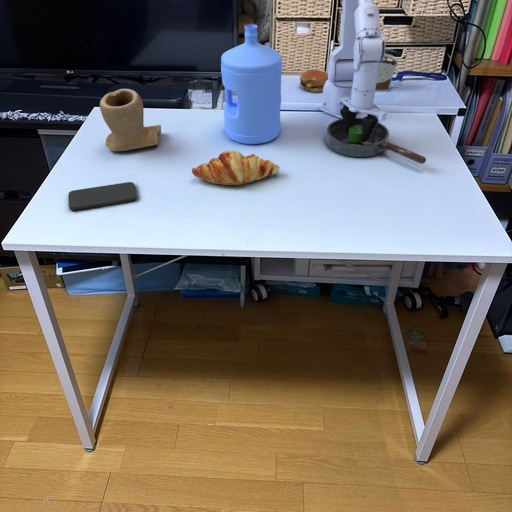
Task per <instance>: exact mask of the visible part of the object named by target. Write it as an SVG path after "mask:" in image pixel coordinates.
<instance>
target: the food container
mask: <svg viewBox="0 0 512 512" xmlns="http://www.w3.org/2000/svg"><path fill="white" fill-rule="evenodd" d="M396 67H399V63H398V58H397V57H396V56H394V55H392V54H388V53H385V55H384V59H383V61H382V62H380V61H379V69H378V76H377V82H376V89H375V92H377V91H378V92H379V91H381V92H389V91H390V87H391V85H392V80H393V77H394V74H395V70H396Z"/></svg>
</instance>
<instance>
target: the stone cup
mask: <svg viewBox="0 0 512 512" xmlns="http://www.w3.org/2000/svg"><path fill="white" fill-rule="evenodd" d="M99 109H100V113H101V116H102V119H103V121H104V123H105V125H106V126H107V127H108V129H109V130H110V131H111V133H109V134H108V135H107V137H106V139H105V146H106V148H107V149H108V150H110V151H112V152H125V151H131V150H137V149H141V148H142V149H143V148H148V147H153V146H157V145H158V144H159V143H160V139H161V136H162V125H161V124H156V125H150V126H145V125H144V123H145V122H144V117H145V116H144V114H145V113H144V112H145V110H144V103H143V100H142V97H140V95H139V94H138V92H136V91H135V90H133V89H130V88H120V89H117V90H114V91H110V92H108V93H106V94H105V95H104V96H103V97H102V98H101V99H100V101H99Z"/></svg>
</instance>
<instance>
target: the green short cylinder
mask: <svg viewBox="0 0 512 512" xmlns="http://www.w3.org/2000/svg"><path fill="white" fill-rule="evenodd" d="M362 132H363V126H360V125H354V126H351V127H350V128H349V134H348V139H349V140H350V141H352V142H354V143H360V142H362Z"/></svg>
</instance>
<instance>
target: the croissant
mask: <svg viewBox="0 0 512 512" xmlns="http://www.w3.org/2000/svg"><path fill="white" fill-rule="evenodd" d="M280 169H281V167H280V165H278V164H275V163H274V161H271V160H270V159H266V160H265V159H263V158H261V157H259V156H258V155H256V154H255V153H253V154H252V153H251V154H249V155H243V154H242V153H241V152H240V151H237V150H226V151H223V152H220V153H219V155H218V157H213V158H211V159H210V160H209V162H207V163H205V162H204V163H201V164H199V165H197V167H192V169H191V172H192V173H191V174H192V175H193V176H194V177H196V178H199V179H202V180H204V181H206V182H208V183H210V184H214V185H215V184H218V185H221V186H232V185H233V186H234V185H235V186H238V185H239V186H240V185H246V184H249V183H252V182H255V181H260V180H262V179H263V178H266V177H271V176H274V175H276V174H277V173H278V172H279V171H280Z"/></svg>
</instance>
